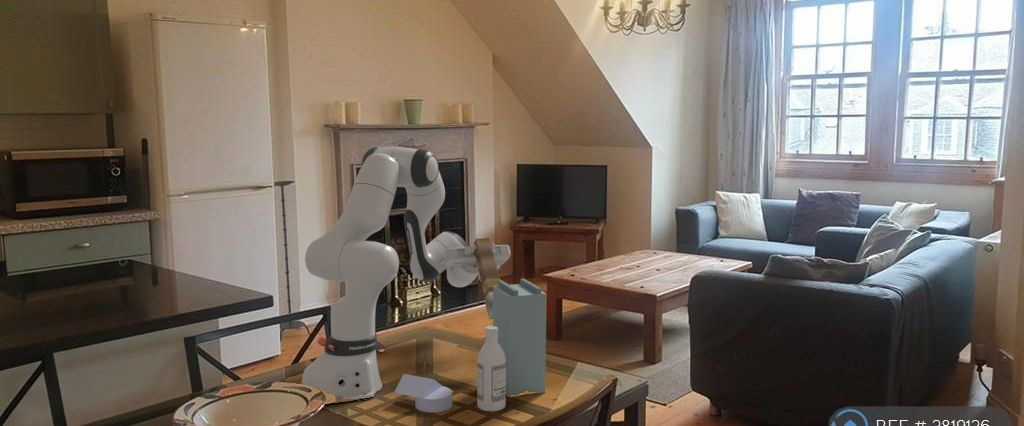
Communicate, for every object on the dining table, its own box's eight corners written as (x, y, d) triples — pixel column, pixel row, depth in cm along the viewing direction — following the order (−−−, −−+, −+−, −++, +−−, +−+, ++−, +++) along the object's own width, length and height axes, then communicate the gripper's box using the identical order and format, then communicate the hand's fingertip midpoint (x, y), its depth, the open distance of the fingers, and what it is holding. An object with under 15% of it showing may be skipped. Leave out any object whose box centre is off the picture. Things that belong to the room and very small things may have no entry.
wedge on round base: (394, 406, 192) (440, 415, 186) (393, 379, 191) (440, 387, 186) (413, 393, 200) (458, 402, 195) (413, 368, 199) (458, 376, 194)
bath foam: (509, 403, 194) (509, 324, 191) (500, 413, 187) (501, 332, 184) (482, 400, 196) (482, 322, 193) (473, 410, 189) (473, 330, 186)
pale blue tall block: (492, 381, 209) (493, 280, 205) (527, 377, 212) (528, 278, 208) (508, 397, 198) (509, 291, 194) (545, 392, 201) (546, 288, 197)
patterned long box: (471, 246, 230) (475, 237, 226) (486, 245, 232) (490, 236, 228) (489, 319, 218) (493, 311, 214) (505, 317, 219) (510, 309, 216)
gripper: (436, 254, 236) (447, 237, 224) (500, 249, 244) (514, 234, 232) (439, 273, 234) (450, 258, 222) (503, 269, 242) (517, 254, 229)
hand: (483, 246), depth 227 cm, fingers closed on patterned long box, 4 cm apart
